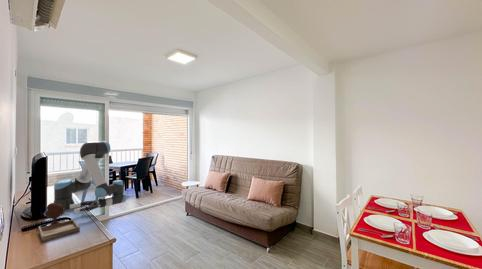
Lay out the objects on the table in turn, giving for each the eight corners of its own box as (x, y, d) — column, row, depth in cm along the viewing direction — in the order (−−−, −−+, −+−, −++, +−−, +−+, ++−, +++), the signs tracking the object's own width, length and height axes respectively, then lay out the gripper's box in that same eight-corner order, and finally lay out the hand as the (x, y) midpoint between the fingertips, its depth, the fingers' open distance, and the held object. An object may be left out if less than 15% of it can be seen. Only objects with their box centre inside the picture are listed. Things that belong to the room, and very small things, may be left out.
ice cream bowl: (52, 228, 141) (52, 205, 141) (39, 226, 143) (39, 204, 143) (68, 221, 151) (68, 200, 151) (56, 220, 153) (56, 199, 153)
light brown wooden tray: (39, 232, 134) (38, 227, 134) (73, 223, 148) (73, 219, 148) (42, 242, 123) (42, 237, 123) (79, 231, 136) (79, 226, 136)
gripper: (110, 210, 162) (75, 218, 146) (100, 203, 178) (68, 209, 162) (110, 200, 162) (75, 208, 146) (100, 194, 178) (68, 200, 162)
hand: (71, 209), depth 154 cm, fingers open, 13 cm apart
